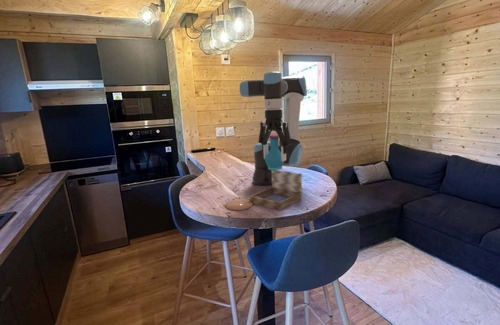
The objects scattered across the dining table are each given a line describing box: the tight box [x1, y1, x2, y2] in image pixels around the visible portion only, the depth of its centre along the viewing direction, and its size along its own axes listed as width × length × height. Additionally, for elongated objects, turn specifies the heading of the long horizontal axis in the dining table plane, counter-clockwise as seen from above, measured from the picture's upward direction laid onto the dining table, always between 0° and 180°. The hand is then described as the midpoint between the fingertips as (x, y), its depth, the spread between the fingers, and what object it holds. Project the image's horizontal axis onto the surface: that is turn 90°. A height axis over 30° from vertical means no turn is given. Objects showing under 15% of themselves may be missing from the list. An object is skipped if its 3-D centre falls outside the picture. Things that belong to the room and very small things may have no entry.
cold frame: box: [249, 169, 303, 211], centre depth 126 cm, size 17×18×12 cm
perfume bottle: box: [265, 134, 284, 171], centre depth 122 cm, size 9×9×15 cm
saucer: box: [225, 198, 253, 212], centre depth 123 cm, size 12×12×1 cm
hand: (274, 159), depth 123 cm, fingers closed on perfume bottle, 9 cm apart
